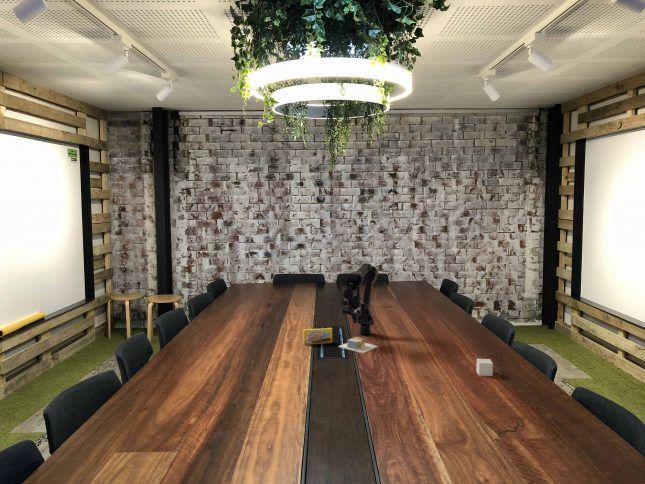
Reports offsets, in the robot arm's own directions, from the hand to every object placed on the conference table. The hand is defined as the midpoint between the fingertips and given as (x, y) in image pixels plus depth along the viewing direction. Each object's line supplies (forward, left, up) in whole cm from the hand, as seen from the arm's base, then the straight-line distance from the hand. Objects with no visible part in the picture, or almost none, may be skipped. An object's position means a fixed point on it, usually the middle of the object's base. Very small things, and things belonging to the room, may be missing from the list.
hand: (354, 323), depth 277 cm
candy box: (+15, -14, -11) cm, 24 cm away
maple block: (+4, +7, -8) cm, 11 cm away
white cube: (0, +74, -11) cm, 75 cm away
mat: (+6, +7, -11) cm, 14 cm away
